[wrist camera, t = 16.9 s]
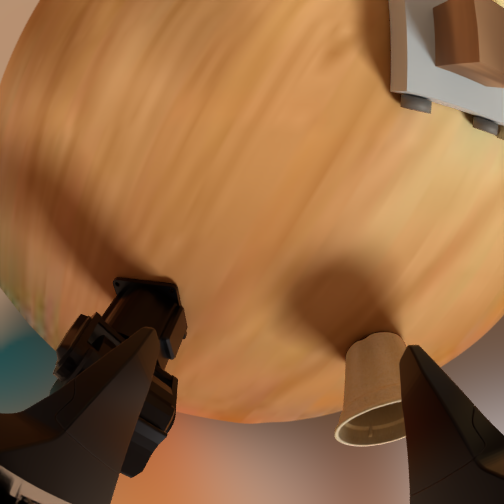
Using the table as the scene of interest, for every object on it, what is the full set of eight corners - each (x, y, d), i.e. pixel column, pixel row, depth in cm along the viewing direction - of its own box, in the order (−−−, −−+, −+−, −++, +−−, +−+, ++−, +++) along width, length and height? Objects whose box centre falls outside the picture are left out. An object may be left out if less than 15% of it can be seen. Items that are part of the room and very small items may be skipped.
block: (435, 66, 11) (479, 62, 7) (432, 7, 9) (472, -11, 5) (486, 86, 10) (533, 92, 6) (484, 31, 8) (527, 25, 4)
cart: (388, 104, 15) (405, 106, 12) (385, -23, 10) (399, -38, 7) (490, 133, 14) (513, 141, 11) (490, 19, 9) (511, 15, 6)
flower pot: (414, 367, 26) (431, 431, 19) (335, 385, 29) (339, 453, 21) (421, 307, 22) (452, 383, 15) (323, 331, 25) (328, 414, 17)
